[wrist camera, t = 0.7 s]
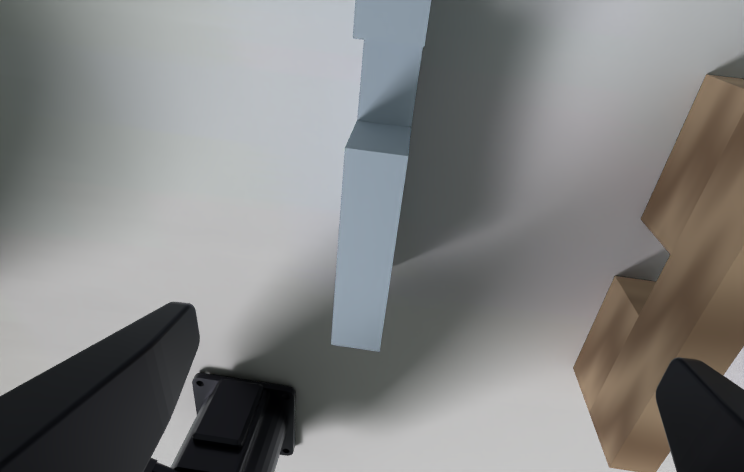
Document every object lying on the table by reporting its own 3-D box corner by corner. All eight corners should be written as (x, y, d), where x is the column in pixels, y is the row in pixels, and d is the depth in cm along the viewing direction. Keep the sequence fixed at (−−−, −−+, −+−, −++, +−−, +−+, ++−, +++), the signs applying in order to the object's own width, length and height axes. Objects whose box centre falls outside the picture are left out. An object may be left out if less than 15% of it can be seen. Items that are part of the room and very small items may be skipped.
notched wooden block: (608, 373, 26) (654, 474, 21) (573, 367, 26) (609, 467, 21) (759, 80, 18) (895, 128, 13) (706, 74, 18) (820, 118, 13)
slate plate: (389, 268, 24) (379, 351, 19) (351, 262, 24) (330, 344, 19) (470, -288, 14) (496, -442, 8) (402, -294, 14) (387, -451, 9)
